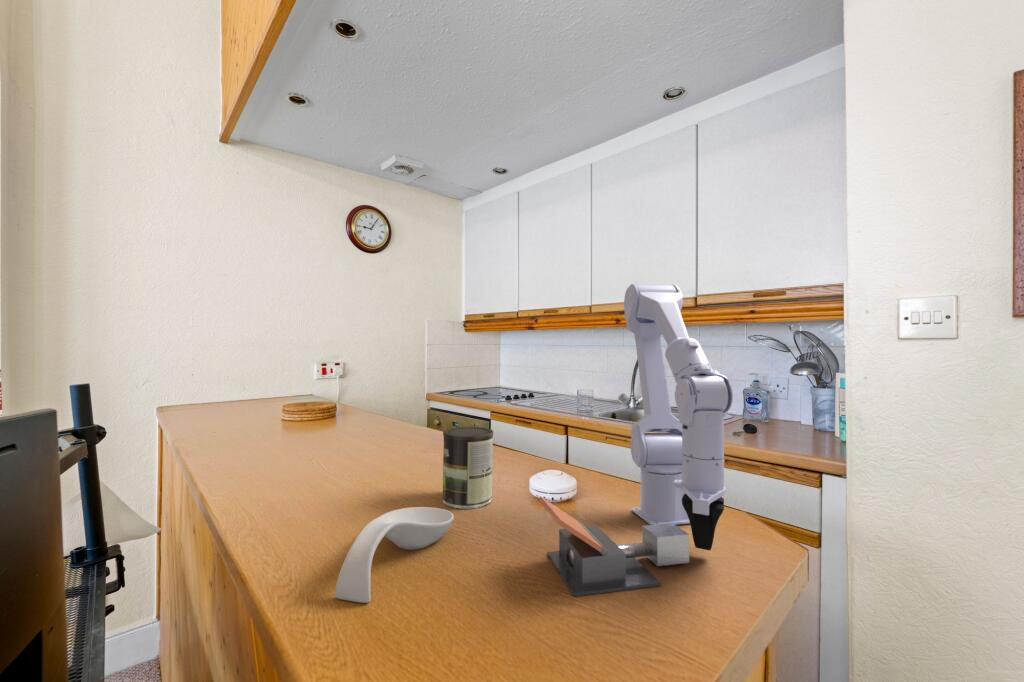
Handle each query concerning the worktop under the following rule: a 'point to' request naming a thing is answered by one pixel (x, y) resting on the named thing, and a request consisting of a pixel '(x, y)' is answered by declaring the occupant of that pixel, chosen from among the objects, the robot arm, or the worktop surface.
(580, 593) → the hitch block
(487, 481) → the coffee can
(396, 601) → the worktop surface
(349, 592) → the spoon rest
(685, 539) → the hitch pin
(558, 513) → the plate
